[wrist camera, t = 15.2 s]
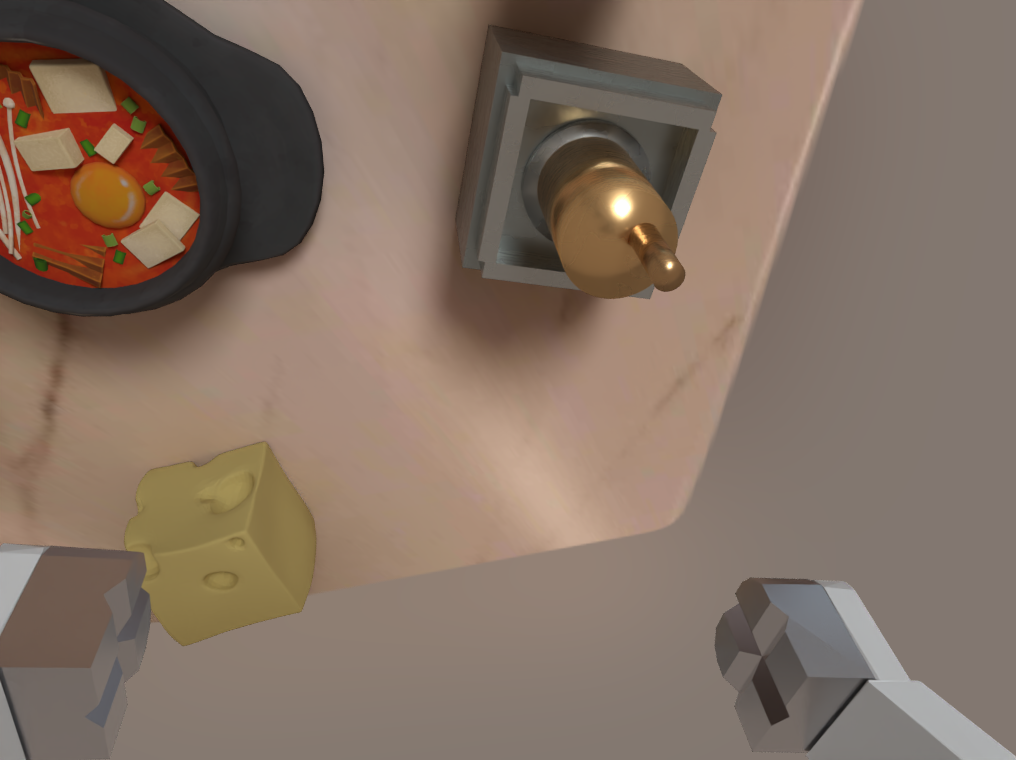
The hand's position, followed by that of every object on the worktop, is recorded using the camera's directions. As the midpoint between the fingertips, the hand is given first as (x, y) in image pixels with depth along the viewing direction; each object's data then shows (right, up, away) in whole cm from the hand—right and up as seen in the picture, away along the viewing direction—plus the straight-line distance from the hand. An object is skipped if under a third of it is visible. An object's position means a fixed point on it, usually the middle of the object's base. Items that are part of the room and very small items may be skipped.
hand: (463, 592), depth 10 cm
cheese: (-22, -7, +51) cm, 56 cm away
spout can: (+5, +14, +30) cm, 33 cm away
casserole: (-23, +17, +33) cm, 44 cm away
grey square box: (+4, +18, +36) cm, 41 cm away
